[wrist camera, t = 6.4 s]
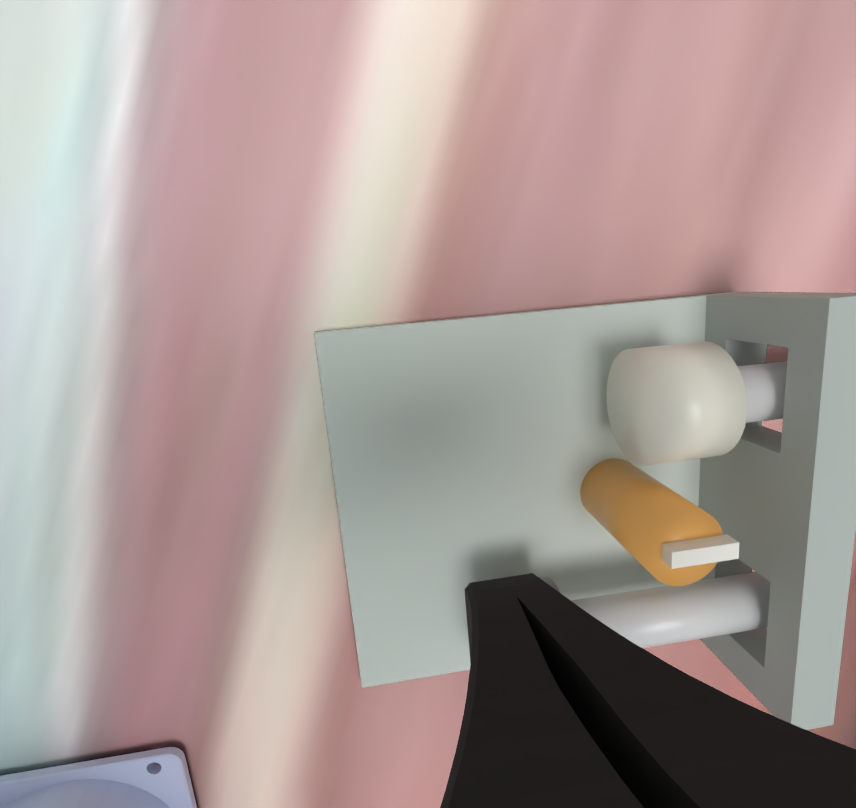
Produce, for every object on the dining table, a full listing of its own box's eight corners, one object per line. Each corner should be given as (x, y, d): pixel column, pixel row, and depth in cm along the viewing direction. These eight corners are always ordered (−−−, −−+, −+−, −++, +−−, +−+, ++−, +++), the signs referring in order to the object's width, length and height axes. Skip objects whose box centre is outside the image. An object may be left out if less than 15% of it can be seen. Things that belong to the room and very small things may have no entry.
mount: (362, 676, 20) (361, 814, 15) (315, 331, 17) (295, 351, 12) (718, 618, 22) (833, 724, 16) (734, 291, 19) (882, 293, 13)
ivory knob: (606, 445, 18) (664, 483, 15) (606, 342, 17) (667, 357, 14) (889, 410, 19) (1005, 437, 16) (901, 312, 18) (1026, 318, 15)
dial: (580, 523, 19) (654, 602, 14) (579, 462, 19) (655, 523, 14) (644, 514, 20) (737, 588, 15) (644, 454, 19) (741, 511, 14)
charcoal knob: (478, 652, 19) (505, 733, 16) (472, 565, 18) (498, 630, 15) (751, 608, 20) (831, 674, 17) (757, 524, 20) (842, 575, 16)
